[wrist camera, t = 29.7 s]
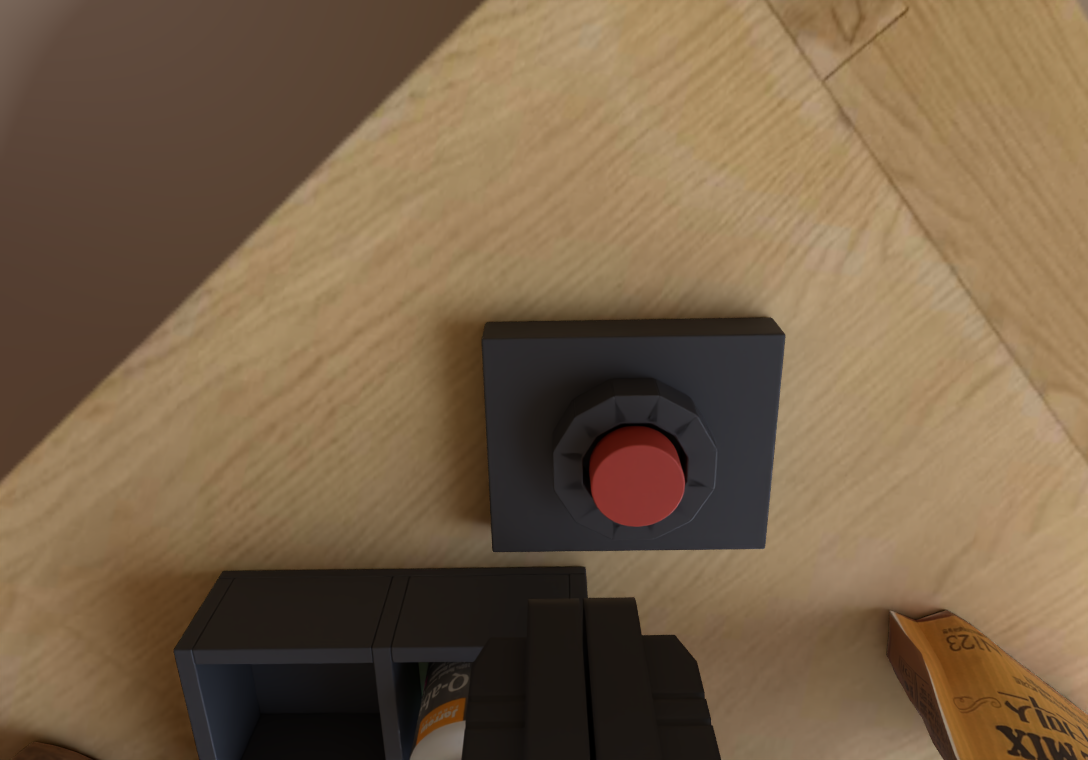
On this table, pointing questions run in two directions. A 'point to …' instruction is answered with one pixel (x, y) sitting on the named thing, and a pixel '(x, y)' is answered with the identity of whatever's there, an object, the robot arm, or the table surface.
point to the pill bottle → (442, 712)
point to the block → (630, 400)
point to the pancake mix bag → (980, 694)
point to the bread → (47, 753)
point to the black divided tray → (341, 653)
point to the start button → (636, 476)
